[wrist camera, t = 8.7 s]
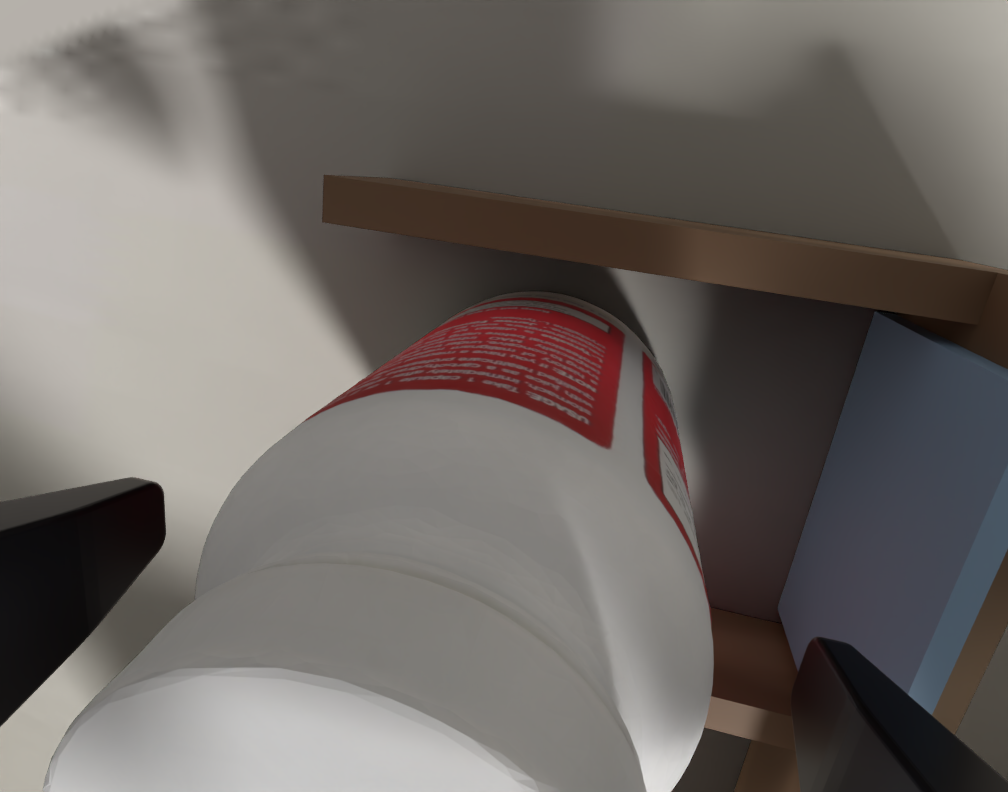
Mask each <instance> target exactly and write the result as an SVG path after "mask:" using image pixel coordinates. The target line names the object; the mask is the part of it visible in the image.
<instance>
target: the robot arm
mask: <svg viewBox="0 0 1008 792" xmlns="http://www.w3.org/2000/svg"><path fill="white" fill-rule="evenodd" d="M165 536H166V523H165V505H164V492H163V489H162V487H161V486H160V485H159V484H158V483H156V482H152V481H148V480H144V479H139V478H133V477H130V478H124V479H119V480H114V481H108V482H103V483H98V484H93V485H88V486H82V487H77V488H72V489H67V490H61V491H56V492H51V493H46V494H40V495H35V496H30V497H25V498H19V499H14V500H9V501H4V502H0V727H1V726H2V725H3V724H4V723H5V722H6V721H7V720H8V719H9V717H10V716H11V715H12V714H13V713H14V712H15V711H16V710H17V709H18V708H19V707H20V706H21V705H22V704H23V703H24V702H25V701H26V700H27V699H28V698H29V697H30V696H31V695H32V694H33V693H34V692H35V691H36V690H37V689H38V688H39V687H40V686H41V685H42V684H43V683H44V682H45V681H46V680H47V679H48V678H49V677H50V676H51V675H52V674H53V673H54V672H55V671H56V670H57V669H58V667H59V666H60V665H61V664H62V663H63V662H64V661H65V660H66V659H67V658H68V657H69V656H70V655H71V654H72V653H73V652H74V651H75V650H76V649H77V648H78V647H79V646H80V645H81V644H82V643H83V642H84V641H85V639H86V638H87V637H88V636H89V635H90V634H91V633H92V632H93V631H94V629H95V628H96V627H97V626H98V625H99V624H100V622H101V621H102V620H103V619H104V618H105V616H106V615H107V614H108V613H109V612H110V610H111V609H112V608H113V607H114V605H115V604H116V603H117V602H118V601H119V599H120V598H121V597H122V596H123V594H124V593H125V592H126V591H127V590H128V588H129V587H130V586H131V585H132V583H133V582H134V581H135V580H136V579H137V577H138V576H139V575H140V574H141V572H142V571H143V570H144V569H145V568H146V566H147V565H148V564H149V563H150V561H151V560H152V559H153V558H154V557H155V555H156V554H157V553H158V552H159V550H160V549H161V547H162V545H163V543H164V540H165ZM791 714H792V723H793V732H794V740H795V749H796V758H797V767H798V775H799V784H800V792H1008V781H1007V780H1005V779H1004V778H1003V777H1002V776H1001V775H1000V774H999V773H997V772H996V771H995V770H994V769H993V768H992V767H991V766H989V765H988V764H987V763H986V762H985V761H984V760H983V759H981V758H980V757H979V756H978V755H977V754H976V753H975V752H973V751H972V750H971V749H970V748H969V747H968V746H966V745H965V744H964V743H963V742H962V741H961V740H960V739H958V738H957V737H956V736H955V735H954V734H953V733H952V732H950V731H949V730H948V729H947V728H946V727H945V726H944V725H942V724H941V723H940V722H939V721H938V720H937V719H936V718H934V717H933V716H932V715H931V714H930V713H929V712H927V711H926V710H925V709H924V708H923V707H922V706H921V705H919V704H918V703H917V702H916V701H915V700H914V699H913V698H911V697H910V696H909V695H908V694H907V693H906V692H905V691H903V690H902V689H901V688H900V687H899V686H898V685H896V684H895V683H894V682H893V681H892V680H891V679H890V678H888V677H887V676H886V675H885V674H884V673H883V672H882V671H880V670H879V669H878V668H877V667H876V666H875V665H874V664H872V663H871V662H870V661H869V660H868V659H867V658H866V657H864V656H863V655H862V654H861V653H860V652H859V651H857V650H856V649H855V648H854V647H853V646H852V645H850V644H848V643H846V642H842V641H837V640H833V639H828V638H824V637H819V636H817V637H814V638H812V639H811V641H810V642H809V643H808V646H807V648H806V651H805V654H804V656H803V659H802V662H801V665H800V668H799V671H798V673H797V676H796V679H795V682H794V685H793V688H792V693H791Z"/></svg>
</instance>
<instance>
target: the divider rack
mask: <svg viewBox="0 0 1008 792" xmlns="http://www.w3.org/2000/svg"><path fill="white" fill-rule="evenodd" d="M322 222H325V223H331V224H337V225H344V226H350V227H356V228H363V229H369V230H376V231H382V232H388V233H395V234H401V235H407V236H414V237H420V238H427V239H433V240H439V241H446V242H452V243H458V244H465V245H471V246H478V247H484V248H490V249H497V250H503V251H509V252H516V253H522V254H529V255H535V256H541V257H548V258H554V259H560V260H567V261H573V262H580V263H586V264H592V265H599V266H605V267H611V268H618V269H624V270H631V271H637V272H643V273H650V274H656V275H662V276H669V277H675V278H682V279H688V280H694V281H701V282H707V283H713V284H720V285H726V286H733V287H739V288H745V289H752V290H758V291H764V292H771V293H777V294H784V295H790V296H796V297H803V298H809V299H815V300H822V301H828V302H835V303H841V304H847V305H854V306H860V307H866V308H873V309H879V310H886V311H892V312H897V313H896V315H895V314H889V313H883V312H876V311H875V312H874V315H873V318H872V321H871V324H870V328H869V331H868V334H867V337H866V340H865V343H864V346H863V349H862V352H861V355H860V358H859V361H858V364H857V367H856V370H855V373H854V376H853V379H852V382H851V385H850V388H849V391H848V395H847V398H846V401H845V404H844V407H843V410H842V413H841V416H840V419H839V422H838V425H837V428H836V431H835V434H834V437H833V440H832V443H831V446H830V449H829V452H828V455H827V458H826V462H825V465H824V468H823V471H822V474H821V477H820V480H819V483H818V486H817V489H816V492H815V495H814V498H813V501H812V504H811V507H810V510H809V513H808V516H807V519H806V522H805V526H804V529H803V532H802V535H801V538H800V541H799V544H798V547H797V550H796V553H795V556H794V559H793V562H792V565H791V568H790V571H789V574H788V577H787V580H786V583H785V586H784V589H783V593H782V596H781V599H780V602H779V605H778V608H777V609H778V612H779V615H780V618H781V621H782V624H779V623H775V622H771V621H766V620H762V619H758V618H753V617H749V616H745V615H740V614H736V613H732V612H727V611H723V610H719V609H714V608H710V609H711V616H712V626H711V631H712V638H713V655H714V669H713V686H712V694H711V699H710V704H709V709H708V714H707V718H706V721H705V725H704V728H708V729H712V730H716V731H720V732H724V733H728V734H732V735H735V736H739V737H743V738H747V739H751V743H750V746H749V748H748V751H747V754H746V757H745V760H744V763H743V766H742V769H741V772H740V775H739V778H738V781H737V784H736V787H735V790H734V792H800V784H799V775H798V767H797V758H796V749H795V740H794V732H793V723H792V714H791V693H792V688H793V685H794V682H795V679H796V676H797V673H798V671H799V668H800V665H801V662H802V659H803V656H804V654H805V651H806V648H807V646H808V643H809V642H810V641H811V639H812V638H814V637H817V636H819V637H824V638H828V639H833V640H837V641H842V642H846V643H848V644H850V645H852V646H853V647H854V648H855V649H856V650H857V651H859V652H860V653H861V654H862V655H863V656H864V657H866V658H867V659H868V660H869V661H870V662H871V663H872V664H874V665H875V666H876V667H877V668H878V669H879V670H880V671H882V672H883V673H884V674H885V675H886V676H887V677H888V678H890V679H891V680H892V681H893V682H894V683H895V684H896V685H898V686H899V687H900V688H901V689H902V690H903V691H905V692H906V693H907V694H908V695H909V696H910V697H911V698H913V699H914V700H915V701H916V702H917V703H918V704H919V705H921V706H922V707H923V708H924V709H925V710H926V711H927V712H929V713H930V714H931V715H932V716H933V717H934V718H936V719H937V720H938V721H939V722H940V723H941V724H942V725H944V726H945V727H946V728H947V729H948V730H949V731H950V732H952V733H953V734H954V735H955V733H956V731H957V729H958V727H959V725H960V723H961V721H962V719H963V717H964V715H965V712H966V710H967V708H968V706H969V704H970V702H971V700H972V698H973V696H974V694H975V692H976V689H977V687H978V685H979V683H980V681H981V679H982V677H983V675H984V673H985V671H986V669H987V666H988V664H989V662H990V660H991V658H992V656H993V654H994V652H995V650H996V648H997V646H998V643H999V641H1000V639H1001V637H1002V635H1003V633H1004V631H1005V629H1006V627H1007V625H1008V270H1004V269H999V268H995V267H990V266H986V265H981V264H977V263H972V262H967V261H963V260H957V259H950V258H943V257H936V256H929V255H922V254H915V253H908V252H901V251H894V250H887V249H880V248H873V247H866V246H859V245H852V244H845V243H838V242H831V241H824V240H817V239H810V238H803V237H796V236H789V235H782V234H775V233H768V232H762V231H755V230H748V229H741V228H734V227H727V226H720V225H713V224H706V223H699V222H692V221H685V220H678V219H671V218H664V217H657V216H650V215H643V214H636V213H629V212H622V211H615V210H608V209H601V208H594V207H587V206H580V205H573V204H566V203H559V202H552V201H545V200H538V199H531V198H524V197H517V196H510V195H503V194H497V193H490V192H483V191H476V190H469V189H462V188H455V187H448V186H441V185H434V184H427V183H420V182H413V181H406V180H399V179H392V178H379V177H357V176H335V175H324V186H323V215H322Z"/></svg>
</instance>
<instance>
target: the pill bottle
mask: <svg viewBox="0 0 1008 792" xmlns="http://www.w3.org/2000/svg"><path fill="white" fill-rule="evenodd" d="M711 626H712V616H711V609H710V604H709V601H708V594H707V589H706V586H705V581H704V576H703V571H702V566H701V559H700V552H699V548H698V543H697V538H696V530H695V526H694V519H693V512H692V508H691V503H690V497H689V491H688V486H687V480H686V474H685V468H684V462H683V455H682V450H681V444H680V439H679V432H678V424H677V418H676V413H675V409H674V404H673V400H672V397H671V393H670V390H669V387H668V384H667V382H666V379H665V377H664V375H663V372H662V370H661V368H660V366H659V365H658V363H657V361H656V359H655V358H654V356H653V355H652V354H651V352H650V351H649V350H648V348H647V347H646V346H645V345H644V344H643V342H642V341H641V340H640V339H639V338H638V337H637V335H636V334H635V333H634V332H632V331H631V330H630V329H629V328H628V327H627V326H626V325H625V324H624V323H622V322H621V321H620V320H619V319H617V318H616V317H614V316H613V315H611V314H610V313H608V312H606V311H604V310H603V309H601V308H599V307H597V306H594V305H592V304H590V303H588V302H585V301H583V300H580V299H577V298H574V297H571V296H567V295H563V294H558V293H552V292H542V291H525V292H516V293H509V294H504V295H499V296H495V297H493V298H490V299H487V300H484V301H482V302H479V303H477V304H475V305H472V306H470V307H468V308H467V309H465V310H463V311H461V312H459V313H458V314H456V315H454V316H453V317H451V318H449V319H448V320H447V321H445V322H444V323H442V324H441V325H440V326H438V327H437V328H435V329H434V330H432V331H431V332H430V333H428V334H427V335H425V336H424V337H423V338H421V339H420V340H418V341H417V342H415V343H414V344H412V345H411V346H410V347H408V348H407V349H406V350H404V351H403V352H401V353H400V354H398V355H397V356H395V357H394V358H393V359H391V360H390V361H388V362H387V363H385V364H384V365H382V366H381V367H380V368H378V369H377V370H376V371H374V372H373V373H371V374H370V375H368V376H367V377H366V378H364V379H363V380H361V381H359V382H358V383H357V384H356V385H354V386H353V387H352V388H350V389H349V390H347V391H346V392H344V393H343V394H341V395H340V396H338V397H337V398H336V399H334V400H333V401H332V402H330V403H329V404H327V405H326V406H325V407H323V408H322V409H320V410H319V411H317V412H316V413H314V414H313V415H312V416H310V417H309V418H308V419H306V420H305V421H304V422H302V423H301V424H300V425H298V426H297V427H296V428H295V429H293V430H292V431H291V432H290V433H288V434H287V435H286V436H284V437H283V438H282V439H281V440H279V441H278V442H277V443H276V444H274V445H273V446H272V447H271V448H269V449H268V450H267V451H266V452H265V453H264V454H263V455H262V456H261V457H260V458H259V459H258V460H257V461H256V462H255V463H254V464H253V465H252V466H251V467H250V468H249V469H248V470H247V471H246V473H245V474H244V475H243V476H242V477H241V479H240V480H239V481H238V482H237V484H236V485H235V486H234V488H233V489H232V490H231V492H230V494H229V495H228V497H227V499H226V500H225V502H224V504H223V505H222V507H221V509H220V511H219V513H218V515H217V517H216V518H215V520H214V522H213V524H212V526H211V529H210V531H209V534H208V536H207V539H206V542H205V545H204V548H203V552H202V556H201V560H200V565H199V569H198V574H197V579H196V590H195V601H193V602H192V603H190V604H189V605H188V606H186V607H185V608H183V609H182V610H181V611H180V612H179V613H178V614H177V615H176V616H175V617H174V618H173V619H172V620H171V621H170V622H168V623H167V624H166V625H165V626H164V627H163V629H162V630H161V631H160V632H159V633H158V634H157V635H156V636H155V637H154V638H153V639H152V640H151V641H150V642H149V643H148V645H147V646H146V647H145V648H144V649H143V650H142V651H141V652H140V653H139V654H138V655H137V657H135V658H134V659H133V660H132V661H131V662H130V663H129V664H128V665H127V666H126V667H125V668H124V669H123V670H122V671H121V672H120V673H119V674H118V675H117V676H116V677H115V678H114V679H113V680H112V681H111V682H110V683H109V684H108V685H107V686H106V687H105V688H104V689H103V690H102V691H100V692H99V693H98V694H97V695H96V696H95V697H94V699H93V700H92V701H91V702H90V703H89V704H88V705H87V706H86V707H85V708H84V710H83V711H82V712H81V713H80V714H79V715H78V716H77V717H76V718H75V719H74V721H73V722H72V724H71V725H70V726H69V728H68V730H67V731H66V733H65V735H64V737H63V738H62V740H61V742H60V744H59V746H58V747H57V749H56V751H55V753H54V755H53V756H52V759H51V762H50V765H49V768H48V771H47V774H46V777H45V782H44V787H43V792H671V791H672V790H673V788H674V787H675V785H676V784H677V783H678V781H679V780H680V778H681V777H682V775H683V773H684V771H685V770H686V768H687V766H688V765H689V763H690V760H691V758H692V756H693V754H694V751H695V749H696V747H697V745H698V743H699V740H700V738H701V735H702V732H703V728H704V725H705V721H706V718H707V714H708V709H709V704H710V699H711V694H712V686H713V669H714V655H713V638H712V631H711Z"/></svg>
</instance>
